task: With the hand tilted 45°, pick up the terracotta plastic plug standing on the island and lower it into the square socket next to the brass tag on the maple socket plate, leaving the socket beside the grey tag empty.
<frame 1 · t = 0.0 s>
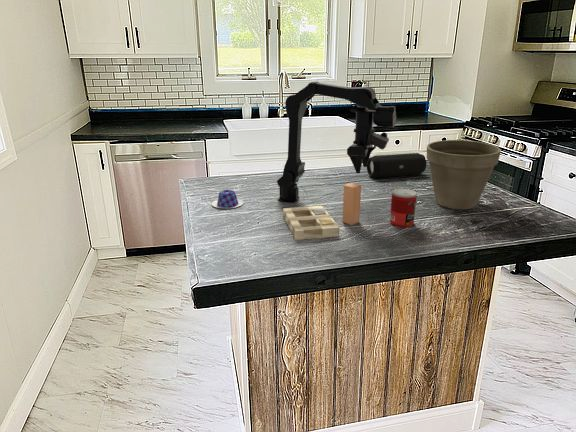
hand: (361, 170, 157), 15 cm above the countertop, tool pointing down, fingers open, 9 cm apart
plant pot: (455, 203, 168), on the countertop
portable speaker: (395, 176, 204), on the countertop
socket plate: (308, 231, 143), on the countertop
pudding: (227, 205, 169), on the countertop
canned food: (401, 223, 150), on the countertop
plug: (350, 221, 151), on the countertop
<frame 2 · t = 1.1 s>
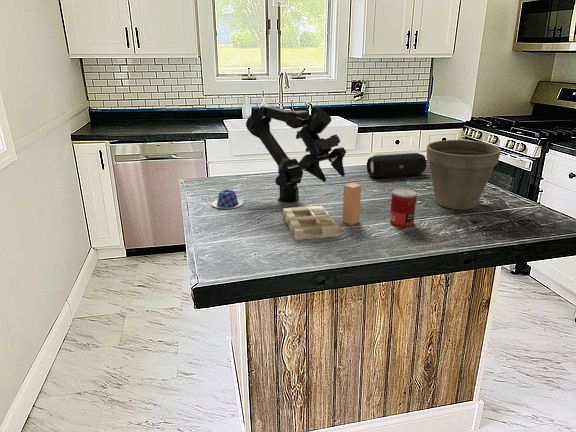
hand: (334, 178, 152), 13 cm above the countertop, tool tilted 45°, fingers open, 9 cm apart
nothing on the countertop moved.
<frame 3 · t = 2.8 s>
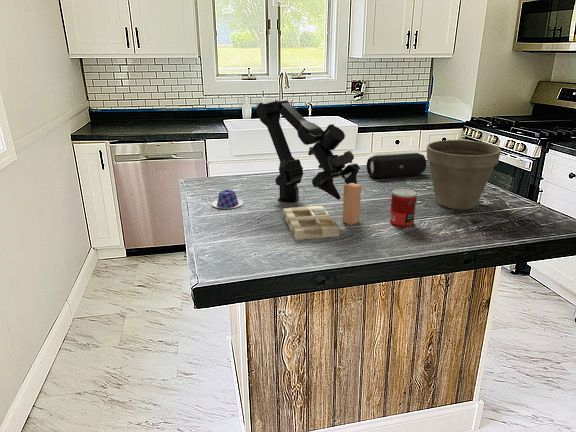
hand: (348, 196, 149), 9 cm above the countertop, tool tilted 45°, fingers open, 9 cm apart
nothing on the countertop moved.
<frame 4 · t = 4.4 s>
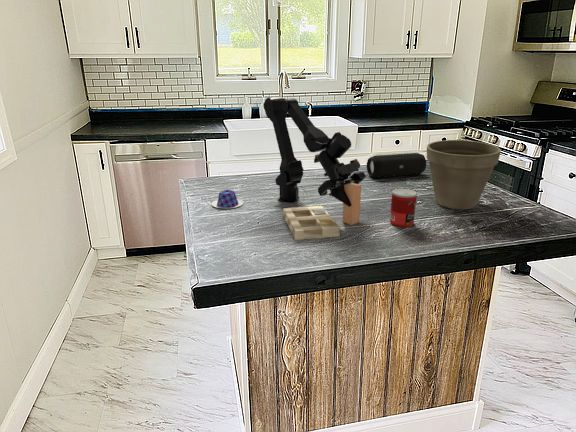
hand: (354, 204, 148), 7 cm above the countertop, tool tilted 45°, fingers closed on plug, 4 cm apart
plug: (350, 221, 151), on the countertop, touching gripper
everything else where it was.
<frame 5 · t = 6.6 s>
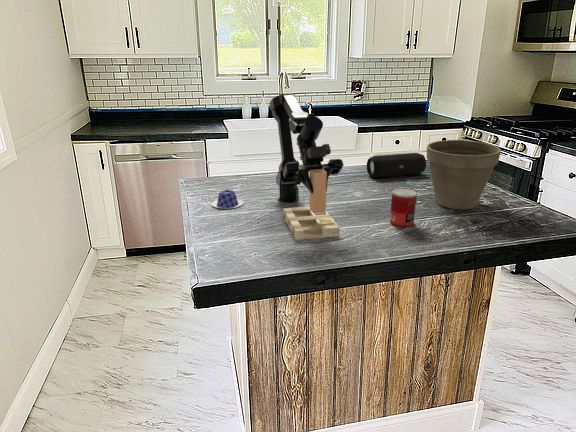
hand: (319, 192, 138), 14 cm above the countertop, tool tilted 45°, fingers closed on plug, 4 cm apart
plug: (317, 210, 141), point 7 cm above the countertop, touching gripper
everything else where it was.
when the fingers open (8 cm above the countertop, at t = 8.9 s): plug drops 1 cm, resting in socket plate.
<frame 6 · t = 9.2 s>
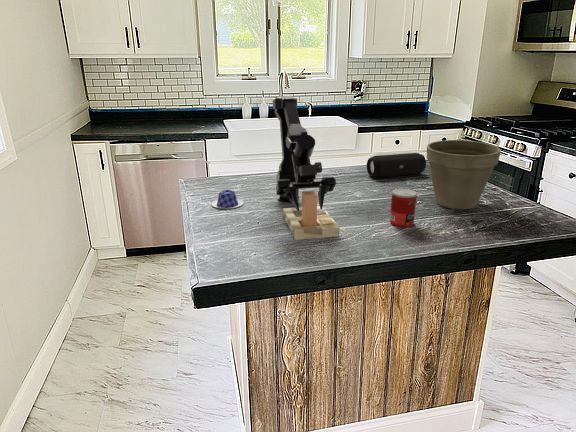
hand: (310, 209, 139), 8 cm above the countertop, tool tilted 45°, fingers open, 7 cm apart
plug: (308, 231, 143), resting in socket plate
everything else where it was.
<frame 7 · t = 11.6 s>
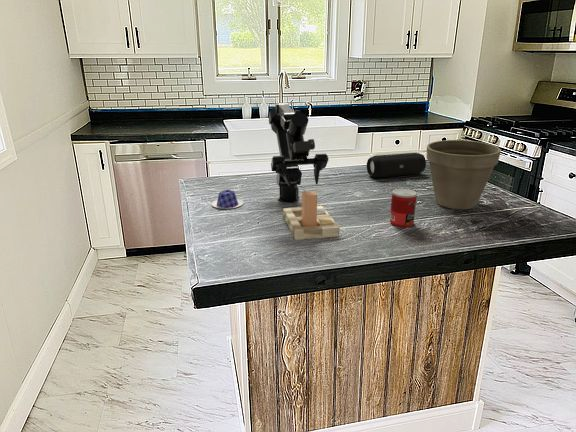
hand: (303, 184, 146), 13 cm above the countertop, tool tilted 45°, fingers open, 9 cm apart
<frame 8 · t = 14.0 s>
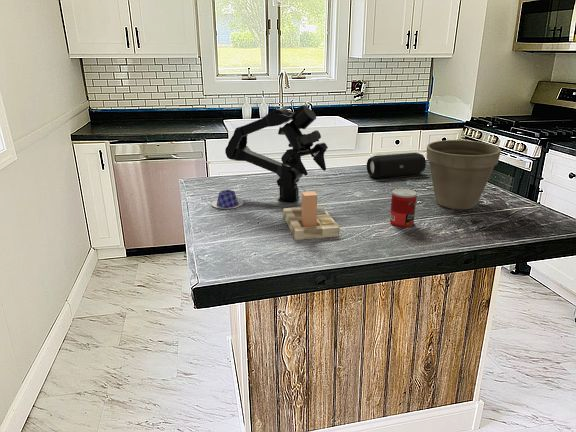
hand: (316, 172, 159), 14 cm above the countertop, tool tilted 45°, fingers open, 9 cm apart
at the end: plug 0.1 cm from the socket plate (horizontally); plug resting in socket plate; plug tilted 0° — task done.
